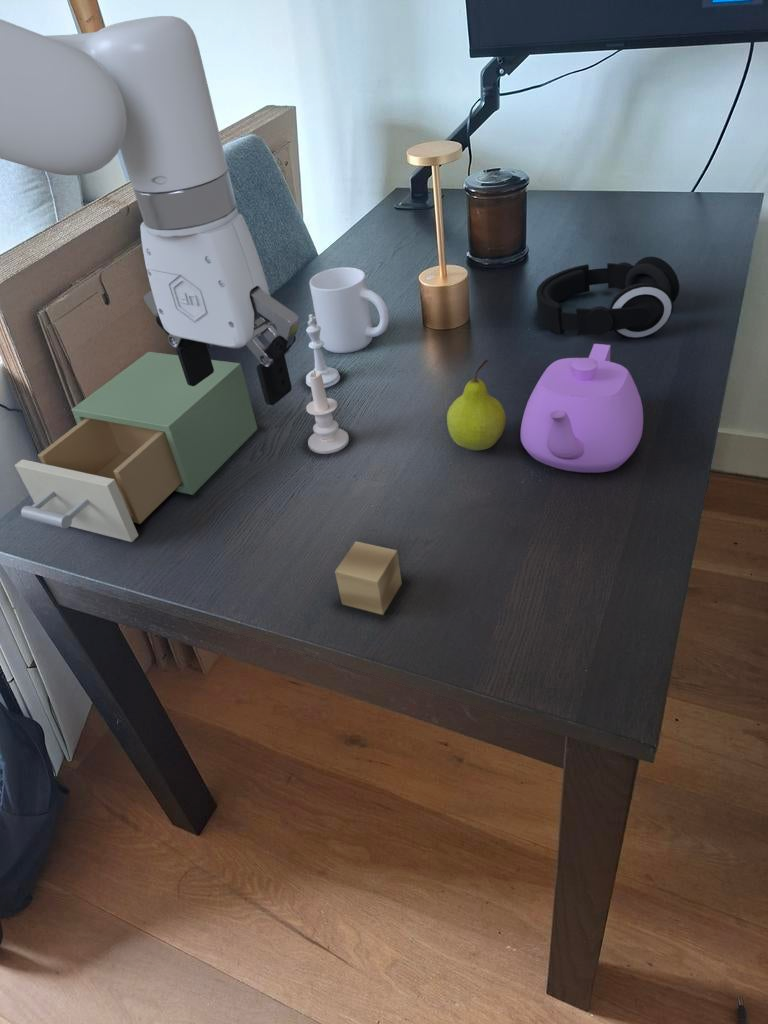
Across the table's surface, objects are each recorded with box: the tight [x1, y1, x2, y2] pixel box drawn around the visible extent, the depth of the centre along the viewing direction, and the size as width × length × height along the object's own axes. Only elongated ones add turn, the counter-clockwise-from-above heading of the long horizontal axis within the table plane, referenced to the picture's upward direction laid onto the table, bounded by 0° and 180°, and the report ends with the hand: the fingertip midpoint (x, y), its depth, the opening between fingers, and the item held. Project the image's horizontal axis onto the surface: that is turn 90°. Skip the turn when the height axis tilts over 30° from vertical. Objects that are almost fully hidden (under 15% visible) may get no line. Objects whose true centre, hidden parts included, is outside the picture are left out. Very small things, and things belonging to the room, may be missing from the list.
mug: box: [309, 266, 390, 354], centre depth 114 cm, size 12×8×10 cm
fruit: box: [446, 359, 507, 452], centre depth 88 cm, size 7×7×12 cm
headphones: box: [535, 256, 680, 339], centre depth 112 cm, size 18×8×20 cm
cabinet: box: [71, 351, 259, 496], centre depth 96 cm, size 15×15×10 cm
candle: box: [305, 369, 350, 455], centre depth 93 cm, size 5×5×10 cm
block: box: [334, 540, 403, 616], centre depth 73 cm, size 4×4×4 cm
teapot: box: [519, 343, 644, 473], centre depth 86 cm, size 13×20×11 cm
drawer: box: [14, 418, 183, 543], centre depth 87 cm, size 18×14×8 cm
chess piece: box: [305, 314, 341, 389], centre depth 106 cm, size 5×5×10 cm
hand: (239, 388), depth 71 cm, fingers open, 9 cm apart
